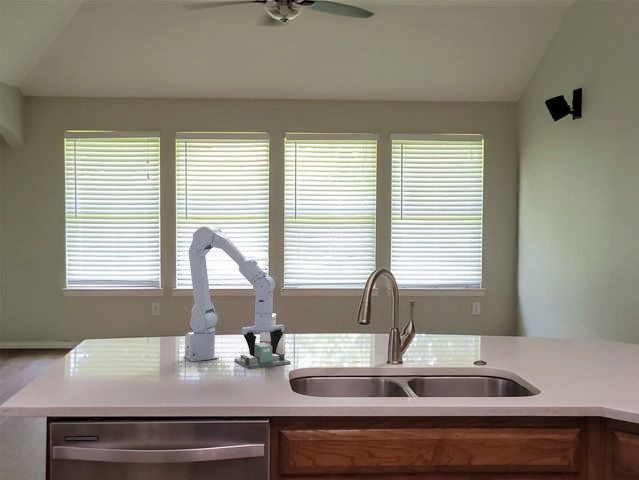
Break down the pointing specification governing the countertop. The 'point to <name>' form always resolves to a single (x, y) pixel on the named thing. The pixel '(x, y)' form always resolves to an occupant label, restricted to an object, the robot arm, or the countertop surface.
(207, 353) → the robot arm
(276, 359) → the rail plate
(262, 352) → the block
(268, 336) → the ink box
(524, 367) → the countertop surface
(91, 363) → the countertop surface
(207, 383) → the countertop surface
